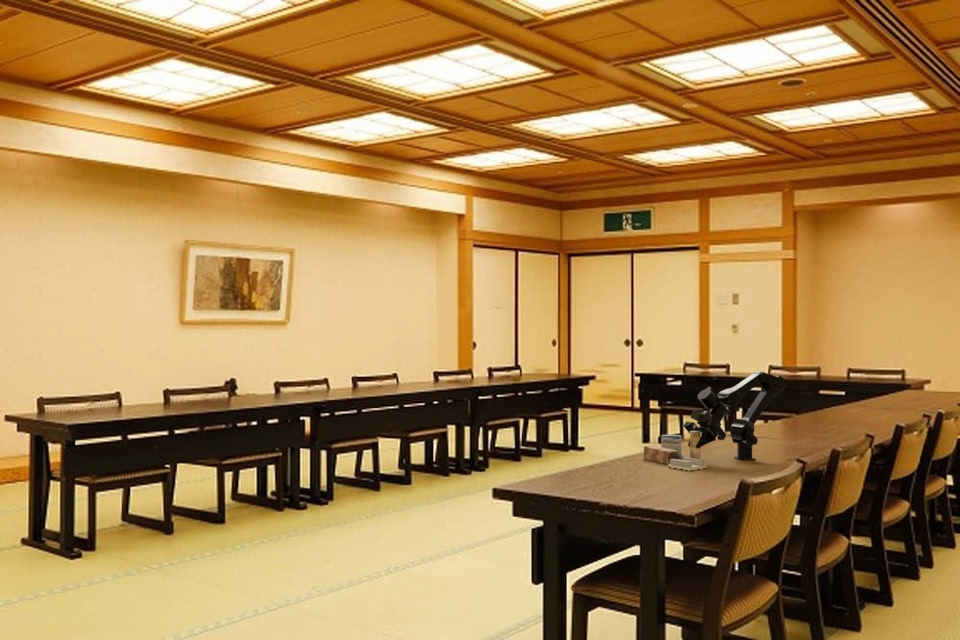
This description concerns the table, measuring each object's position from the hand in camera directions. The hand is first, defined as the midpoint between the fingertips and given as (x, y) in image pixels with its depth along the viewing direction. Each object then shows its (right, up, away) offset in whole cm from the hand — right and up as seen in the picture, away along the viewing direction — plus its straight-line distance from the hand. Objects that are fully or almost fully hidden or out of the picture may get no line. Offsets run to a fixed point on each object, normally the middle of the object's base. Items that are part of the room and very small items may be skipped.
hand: (692, 447), depth 345 cm
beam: (-11, -7, +7) cm, 14 cm away
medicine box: (-4, -7, +20) cm, 22 cm away
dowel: (+1, -7, +1) cm, 7 cm away
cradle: (-4, -7, -9) cm, 12 cm away
